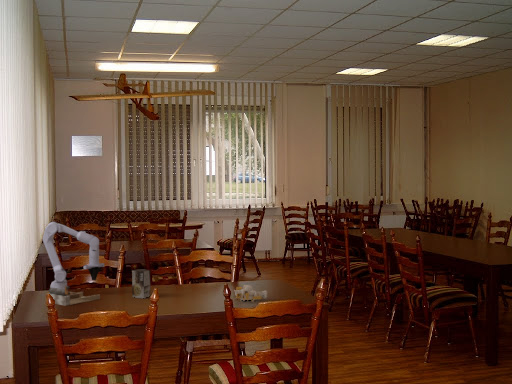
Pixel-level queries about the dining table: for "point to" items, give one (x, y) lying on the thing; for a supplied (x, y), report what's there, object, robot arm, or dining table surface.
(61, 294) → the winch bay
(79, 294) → the beige square tray
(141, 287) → the coffee box
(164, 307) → the dining table surface
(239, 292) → the figure
